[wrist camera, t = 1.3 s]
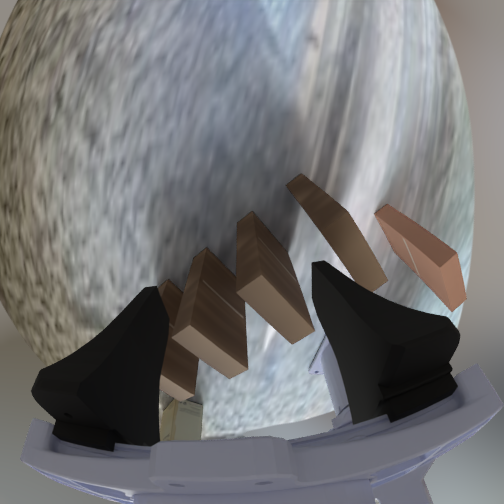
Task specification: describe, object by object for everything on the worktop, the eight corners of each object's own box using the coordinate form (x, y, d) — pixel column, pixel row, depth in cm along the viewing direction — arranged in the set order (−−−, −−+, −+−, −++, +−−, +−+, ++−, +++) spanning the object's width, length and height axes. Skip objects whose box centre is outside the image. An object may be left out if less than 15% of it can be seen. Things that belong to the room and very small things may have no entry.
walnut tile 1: (168, 278, 25) (139, 358, 16) (205, 312, 26) (194, 395, 17) (157, 288, 25) (126, 367, 16) (194, 319, 27) (180, 401, 18)
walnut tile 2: (206, 247, 23) (190, 324, 14) (244, 284, 25) (248, 369, 16) (193, 258, 24) (171, 337, 15) (230, 294, 26) (229, 379, 17)
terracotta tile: (387, 203, 22) (457, 252, 13) (406, 242, 24) (466, 298, 15) (374, 214, 23) (439, 267, 14) (394, 252, 24) (451, 312, 16)
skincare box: (176, 395, 33) (165, 472, 22) (205, 405, 34) (200, 480, 23) (162, 411, 35) (151, 479, 24) (188, 420, 36) (182, 487, 25)
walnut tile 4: (301, 173, 21) (348, 211, 12) (334, 219, 23) (388, 280, 14) (285, 185, 21) (320, 231, 12) (319, 230, 23) (365, 297, 14)
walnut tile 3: (252, 210, 22) (261, 274, 13) (288, 253, 24) (314, 330, 15) (236, 222, 22) (235, 292, 14) (273, 263, 24) (292, 344, 15)
